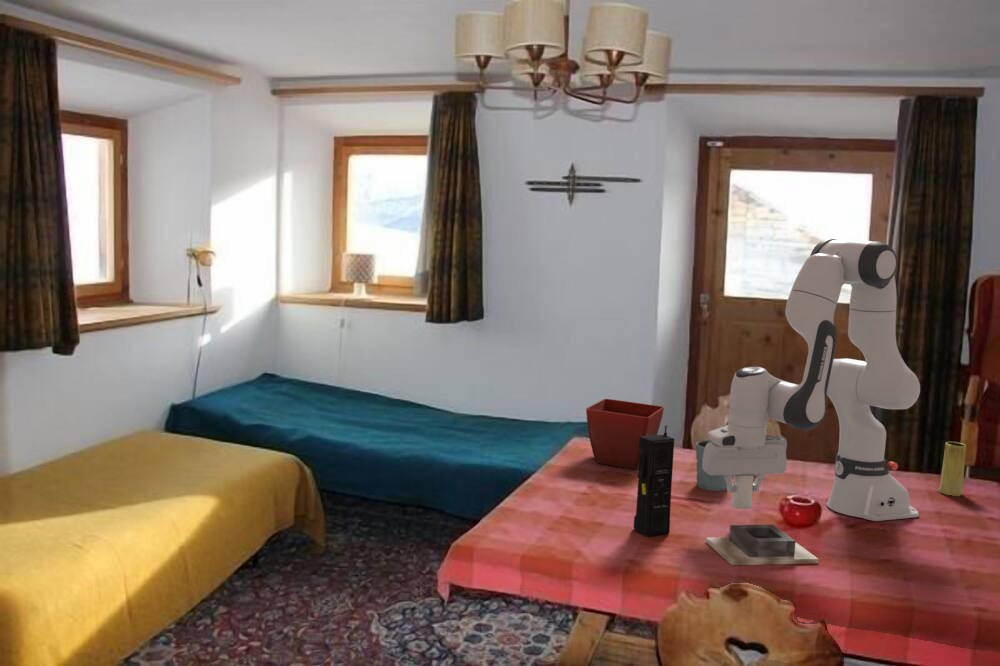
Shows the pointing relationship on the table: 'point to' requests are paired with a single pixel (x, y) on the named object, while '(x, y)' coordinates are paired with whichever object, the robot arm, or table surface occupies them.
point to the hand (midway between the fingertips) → (742, 491)
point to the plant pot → (621, 430)
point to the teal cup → (702, 477)
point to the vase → (953, 469)
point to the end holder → (760, 546)
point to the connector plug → (743, 491)
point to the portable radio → (654, 484)
